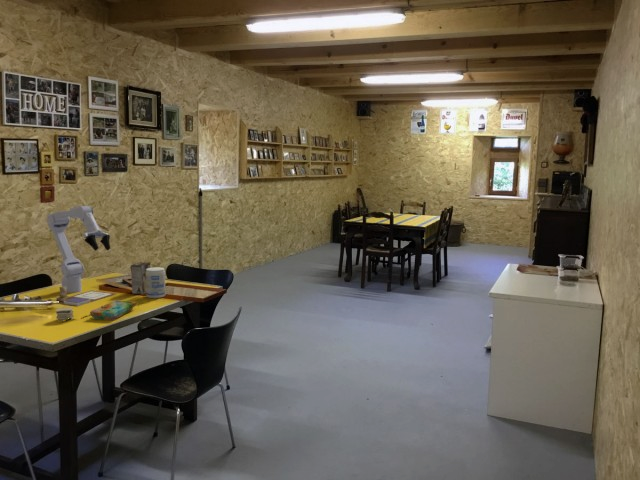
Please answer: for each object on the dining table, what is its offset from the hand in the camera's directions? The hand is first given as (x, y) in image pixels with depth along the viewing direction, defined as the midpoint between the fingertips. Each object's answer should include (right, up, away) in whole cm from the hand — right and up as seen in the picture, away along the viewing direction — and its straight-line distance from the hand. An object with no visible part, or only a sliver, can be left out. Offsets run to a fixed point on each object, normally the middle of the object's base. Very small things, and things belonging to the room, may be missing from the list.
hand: (102, 249), depth 269 cm
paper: (-9, -24, +11) cm, 28 cm away
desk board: (-11, -26, +6) cm, 29 cm away
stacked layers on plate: (-5, -31, -28) cm, 43 cm away
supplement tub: (+22, -25, +14) cm, 36 cm away
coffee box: (+13, -24, +20) cm, 34 cm away
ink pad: (-11, -26, -4) cm, 29 cm away
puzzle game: (+13, -30, -19) cm, 38 cm away
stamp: (-19, -26, 0) cm, 32 cm away
